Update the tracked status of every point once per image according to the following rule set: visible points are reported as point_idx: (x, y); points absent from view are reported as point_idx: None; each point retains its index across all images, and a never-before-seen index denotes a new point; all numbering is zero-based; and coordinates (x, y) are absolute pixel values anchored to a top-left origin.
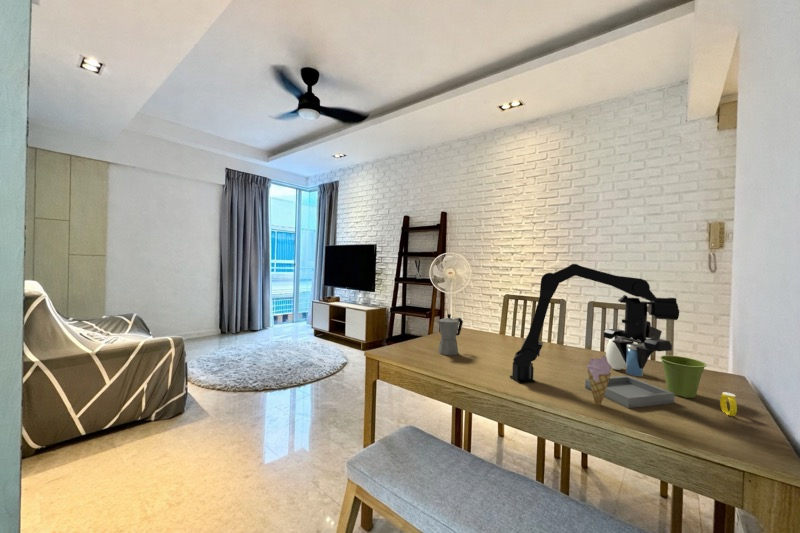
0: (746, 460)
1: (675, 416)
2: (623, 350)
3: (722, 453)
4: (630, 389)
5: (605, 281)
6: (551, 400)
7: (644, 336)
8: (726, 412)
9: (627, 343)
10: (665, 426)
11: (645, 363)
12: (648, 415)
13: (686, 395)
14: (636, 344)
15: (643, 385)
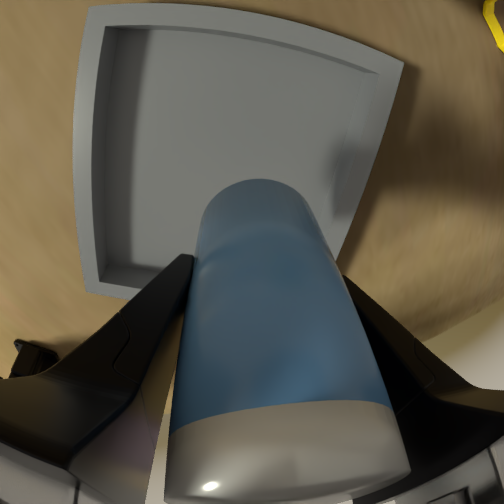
0: (500, 295)
1: (418, 213)
2: (159, 421)
3: (478, 307)
4: (197, 118)
5: None
6: None
7: None
8: (494, 27)
9: (127, 484)
10: (405, 303)
11: (375, 306)
12: (361, 284)
13: None
14: (278, 496)
15: (223, 32)
